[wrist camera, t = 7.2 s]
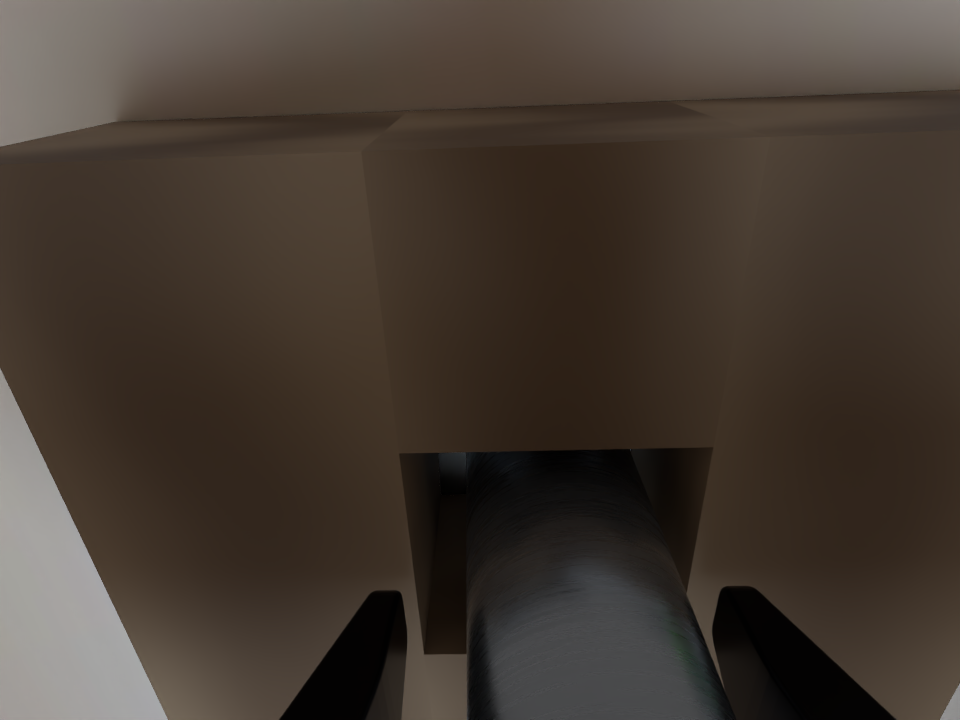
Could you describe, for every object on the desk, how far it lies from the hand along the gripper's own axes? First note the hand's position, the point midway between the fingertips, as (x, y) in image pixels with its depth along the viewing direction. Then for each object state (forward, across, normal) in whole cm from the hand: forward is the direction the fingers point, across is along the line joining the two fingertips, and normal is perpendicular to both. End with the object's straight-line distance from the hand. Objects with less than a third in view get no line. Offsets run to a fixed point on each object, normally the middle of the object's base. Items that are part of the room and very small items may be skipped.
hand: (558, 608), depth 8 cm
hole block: (+5, 0, 0) cm, 5 cm away
